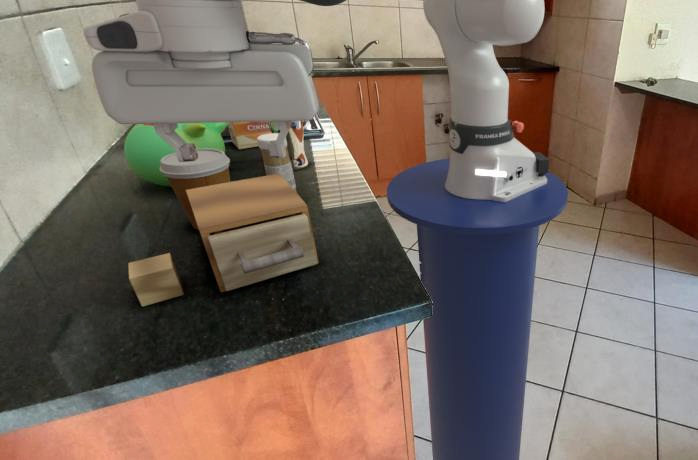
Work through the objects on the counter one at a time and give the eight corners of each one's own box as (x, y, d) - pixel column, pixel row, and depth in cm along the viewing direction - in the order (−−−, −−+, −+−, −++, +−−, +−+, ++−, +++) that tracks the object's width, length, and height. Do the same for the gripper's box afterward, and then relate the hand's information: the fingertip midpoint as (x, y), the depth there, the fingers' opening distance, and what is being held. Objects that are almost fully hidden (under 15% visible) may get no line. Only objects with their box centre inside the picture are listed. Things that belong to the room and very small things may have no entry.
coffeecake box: (238, 150, 108) (217, 68, 99) (231, 143, 113) (210, 64, 103) (300, 140, 117) (285, 65, 108) (291, 134, 122) (276, 62, 112)
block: (180, 279, 60) (170, 252, 57) (183, 294, 57) (172, 267, 54) (140, 290, 57) (128, 262, 55) (141, 307, 54) (128, 278, 52)
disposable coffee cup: (190, 213, 77) (168, 149, 71) (250, 208, 80) (233, 146, 74) (173, 238, 69) (146, 168, 63) (240, 231, 72) (220, 164, 66)
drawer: (327, 278, 60) (317, 229, 56) (232, 309, 53) (214, 255, 49) (291, 228, 72) (281, 184, 68) (210, 248, 65) (194, 201, 61)
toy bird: (162, 169, 95) (137, 101, 88) (247, 165, 99) (230, 100, 92) (122, 202, 79) (88, 124, 72) (224, 195, 84) (202, 121, 77)
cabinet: (318, 263, 65) (307, 205, 60) (220, 292, 57) (198, 229, 53) (291, 225, 75) (279, 173, 70) (205, 246, 67) (185, 189, 63)
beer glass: (308, 170, 98) (295, 104, 91) (275, 171, 96) (259, 104, 89) (312, 160, 104) (301, 97, 97) (281, 161, 102) (267, 97, 95)
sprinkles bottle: (290, 197, 85) (275, 130, 78) (305, 203, 83) (290, 135, 76) (268, 205, 81) (250, 136, 75) (283, 211, 79) (266, 141, 73)
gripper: (312, 31, 49) (331, 147, 56) (99, 25, 44) (147, 153, 51) (304, 35, 44) (325, 163, 50) (60, 29, 39) (120, 172, 45)
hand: (235, 158), depth 50 cm, fingers open, 8 cm apart
